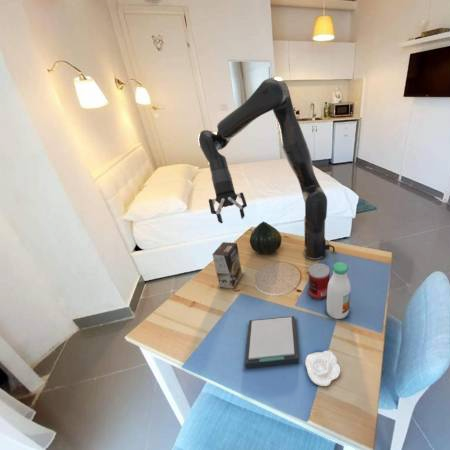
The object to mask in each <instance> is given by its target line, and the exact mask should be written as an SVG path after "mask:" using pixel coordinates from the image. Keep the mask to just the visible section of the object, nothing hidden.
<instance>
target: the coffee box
mask: <svg viewBox="0 0 450 450" xmlns="http://www.w3.org/2000/svg"><path fill="white" fill-rule="evenodd" d="M240 258H241V257H240V253H239V248H238V243H237V242H227V241H223V242H221V244H220V245H219V246H218V247H217V248H216V250H215V251H214V252H213V253H212V259H213V263H214V264H213V265H214V268H215V272H216V277H217V281H218V287H220V288H226V289H232V290H234V289H235V287H236V285H237V284H238V282H239V281H240V280H241V277H242V276H243V271H242V264H241V259H240Z"/></svg>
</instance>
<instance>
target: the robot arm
mask: <svg viewBox="0 0 450 450" xmlns="http://www.w3.org/2000/svg"><path fill="white" fill-rule="evenodd" d="M269 112H273V114H274V117H275V119H276V121H277V125H278V130H279V138H280V143H281V144H280V145H281V148H282V151H283V153H284V156H285V158H286V161H287V162H288V165H289V166H290V169H291V170H292V172H293V174H294V175H295V177H296V179H297V180H298V183H299V184H298V185H299V187H300V190H301V195H302V199H303V202H304V218H303V220H304V221H303V224H304V225H303V226H304V229H303V230H304V232H303V233H304V245H303V247H304V256H305V258H307V259H308V260H312V261H316V260H317V261H319V260H321V259H323V258H326V251H330V250H331V249H330V248H332V252H333V253H335V251H336V248H335V247H334V245H332V244H331V243H330V241H329V239H326V219H327V214H328V197H327V195H326V193H325V191H324V190H323V188H322V187H321V185H320V183H319V181H318V179H317V176H316V175H315V171H314V166H313V159H312V156H311V153H310V149H309V146H308V143H307V141H306V138H305V136H304V133H303V130H302V128H301V125H300V122H299V121H298V118H297V116H296V113H295V109H294V105H293V102H292V97H291V94H290V90H289V87H288V85H287V83H286V82H285V80H283V78H281V77H278V76H272V77H268V78H266V79H264V80H262V82H260V85H258V87H257V88H256V89H255V91H254V92H253V93H252V94H251V96H249V97H248V98H247V100H245V102H244V103H242V104H241V105H240V106H239V107H237V108H235V109H234V110H233V111H231V112H230V113H229V114H227V115H226V116H225V117H224V118H222V119H221V120H220V121H219V122H218V123H217V125H216V131H213V130H209V129H208V130H207V129H204V130H202V131H200V133H199V134H198V146H199V147H200V150H201V151H202V153H203V155H204V157H205V159H206V161H207V163H208V166H209V171H210V176H211V181H212V186H213V189H214V193H215V198H209V199H208V203H209V209H210V214H212V215H215V216H216V218H217V221H218V223H219V224H224V220H223V217H222V214H221V213H222V210H223V208H227V207H228V208H229V207H232V206H234V205H235V206H236V207H237V208H238V209H239V213H240V218H241V220H243V219H245V218H244V217H245V211H244V209H246V207H248V204H247V200H246V197H245V194H244V192H239V193H236V191H235V190H236V189H235V186H234V183H233V178H232V174H231V171H230V168H229V164H228V161H227V158H226V156H225V155H224V154H221V153H220V152H219V151H222V150H224V149H225V148H226V147H227V146H228V145H229V143H230V142H231V140H232V139H233V138H234V137H236V136H237V135H238V134H240V133H242V131H244V130H245V129H246V128H247V127H248V126H249V125H250V124H251V123H253V122H254V121H256V120H257V119H259V118H260V117H261V116H263V115H265V114H267V113H269ZM238 198H239V199H241V202H242V205H241V204H240V203H239V202H237V199H238ZM216 202H217V204H219V205H218V206H217V208H216V209H215V204H216Z"/></svg>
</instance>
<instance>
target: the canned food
mask: <svg viewBox="0 0 450 450" xmlns="http://www.w3.org/2000/svg"><path fill="white" fill-rule="evenodd" d="M330 276H331V271H330V266H328V265H326V264H325V263H314V264H312V265H311V266H309V268H308V292H309V295H310V296H311V298H313V299H316V300H322V299H324V298H327V289H328V283H329V280H330V278H331V277H330Z"/></svg>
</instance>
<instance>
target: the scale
mask: <svg viewBox="0 0 450 450" xmlns="http://www.w3.org/2000/svg"><path fill="white" fill-rule="evenodd" d="M295 319H296V318H295V316H294V315H292V316H281V317H280V316H279V317H271V318H260V319H259V318H258V319H250V320H249V321H248V330H247V338H246V339H247V340H246V342H247V343H246V351H245V360H244V361H245V362H244V365H245V369H246V370H248V369H249V370H250V369H257V368H267V367H276V366H283V365H293V364H299V351H298V341H297V330H296V329H297V328H296V320H295Z"/></svg>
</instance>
